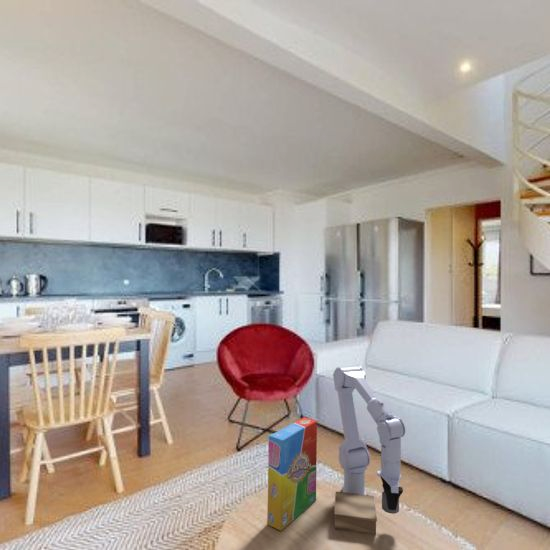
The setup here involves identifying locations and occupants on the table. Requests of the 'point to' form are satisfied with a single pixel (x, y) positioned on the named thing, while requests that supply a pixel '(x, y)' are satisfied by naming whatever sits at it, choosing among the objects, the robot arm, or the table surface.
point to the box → (355, 525)
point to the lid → (355, 506)
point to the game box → (291, 472)
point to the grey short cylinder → (385, 506)
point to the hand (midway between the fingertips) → (390, 503)
